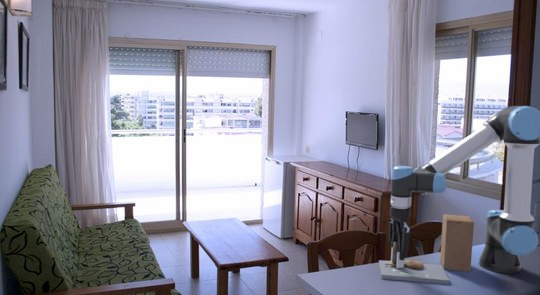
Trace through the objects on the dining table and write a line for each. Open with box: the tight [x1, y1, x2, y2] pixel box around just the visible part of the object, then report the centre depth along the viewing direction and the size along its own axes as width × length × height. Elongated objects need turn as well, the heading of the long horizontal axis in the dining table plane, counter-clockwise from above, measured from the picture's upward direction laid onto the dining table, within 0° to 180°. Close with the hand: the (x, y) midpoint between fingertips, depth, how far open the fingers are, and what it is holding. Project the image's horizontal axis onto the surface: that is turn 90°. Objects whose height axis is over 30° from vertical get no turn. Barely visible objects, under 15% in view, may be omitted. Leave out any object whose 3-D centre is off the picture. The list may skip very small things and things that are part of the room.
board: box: [378, 259, 451, 285], centre depth 181 cm, size 24×16×2 cm, turn 80°
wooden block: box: [439, 213, 475, 272], centre depth 189 cm, size 10×10×20 cm
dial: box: [384, 241, 424, 269], centre depth 184 cm, size 15×7×9 cm, turn 93°
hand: (397, 265), depth 185 cm, fingers open, 4 cm apart
